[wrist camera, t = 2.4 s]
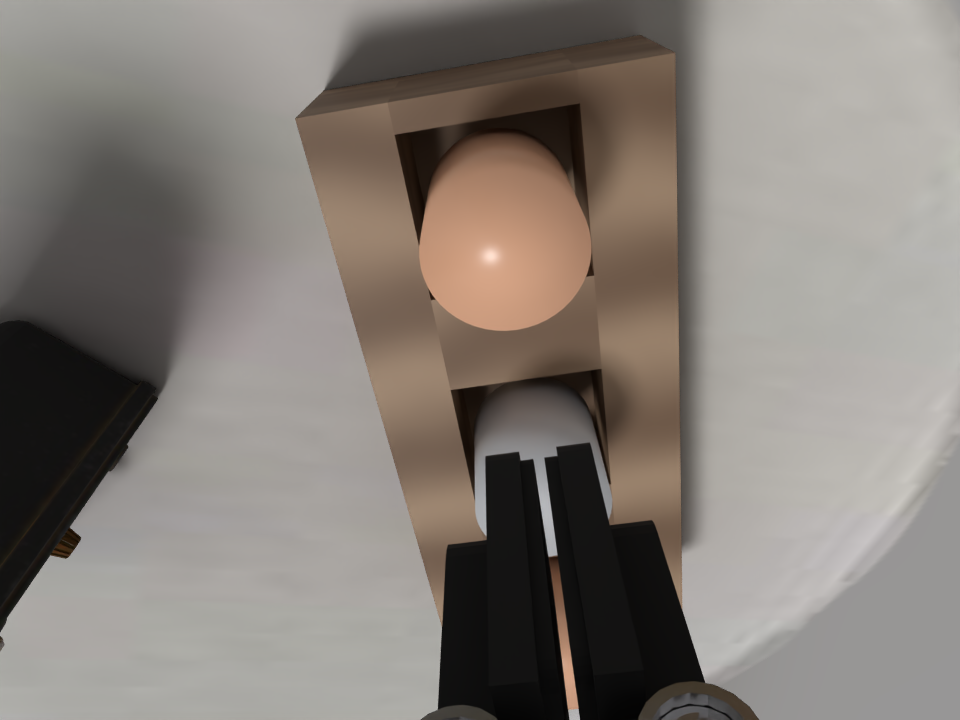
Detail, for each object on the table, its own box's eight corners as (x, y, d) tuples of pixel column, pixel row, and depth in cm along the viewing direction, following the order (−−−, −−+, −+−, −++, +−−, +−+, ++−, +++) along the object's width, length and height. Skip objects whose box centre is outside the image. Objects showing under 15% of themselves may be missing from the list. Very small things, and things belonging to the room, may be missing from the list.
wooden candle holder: (323, 90, 26) (295, 118, 22) (640, 34, 25) (675, 52, 21) (454, 587, 40) (452, 663, 36) (659, 563, 40) (682, 637, 35)
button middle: (465, 386, 28) (464, 464, 24) (586, 369, 28) (608, 445, 24) (484, 478, 31) (486, 564, 26) (595, 463, 30) (616, 548, 26)
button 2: (414, 140, 23) (402, 185, 19) (562, 116, 23) (583, 154, 18) (442, 275, 26) (437, 341, 21) (575, 255, 25) (597, 318, 21)
